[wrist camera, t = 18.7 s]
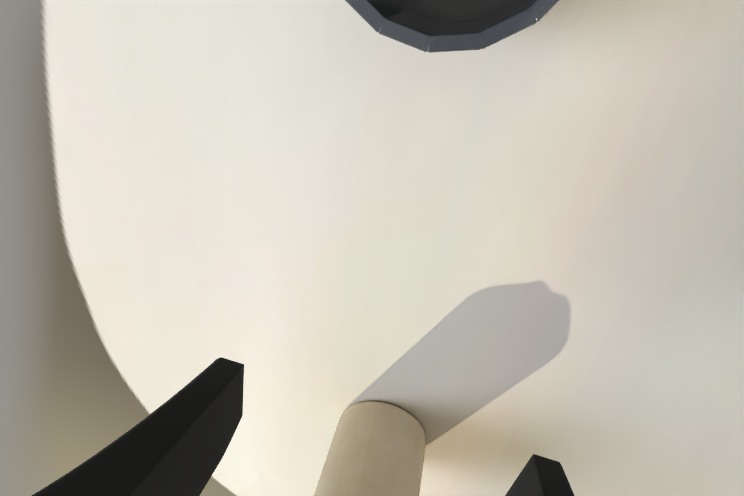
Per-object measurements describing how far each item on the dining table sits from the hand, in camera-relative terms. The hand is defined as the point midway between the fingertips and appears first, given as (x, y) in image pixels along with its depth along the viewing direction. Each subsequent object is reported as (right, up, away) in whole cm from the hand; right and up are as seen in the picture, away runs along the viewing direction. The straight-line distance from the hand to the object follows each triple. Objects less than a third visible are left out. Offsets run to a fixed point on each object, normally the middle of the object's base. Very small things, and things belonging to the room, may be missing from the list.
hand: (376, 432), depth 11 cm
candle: (+1, -7, +17) cm, 18 cm away
